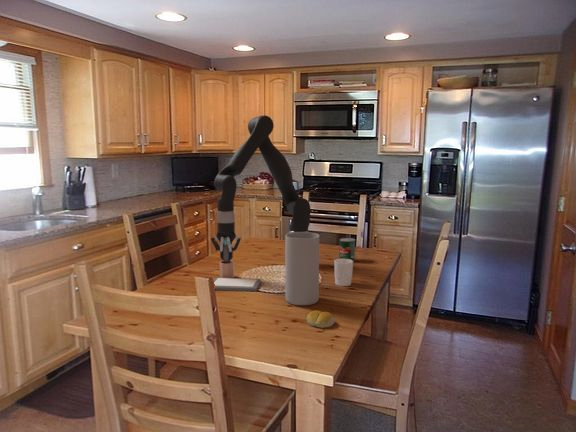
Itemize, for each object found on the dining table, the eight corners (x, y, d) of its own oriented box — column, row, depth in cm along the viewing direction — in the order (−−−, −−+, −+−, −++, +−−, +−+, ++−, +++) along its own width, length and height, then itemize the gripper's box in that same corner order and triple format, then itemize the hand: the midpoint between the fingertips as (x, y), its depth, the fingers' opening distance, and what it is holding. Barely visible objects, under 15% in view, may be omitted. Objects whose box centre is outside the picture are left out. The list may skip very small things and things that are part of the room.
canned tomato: (338, 262, 219) (339, 240, 217) (339, 258, 226) (340, 237, 225) (354, 262, 217) (355, 241, 216) (355, 259, 225) (355, 238, 223)
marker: (230, 265, 193) (230, 236, 191) (229, 267, 190) (229, 238, 188) (223, 265, 193) (223, 236, 191) (222, 267, 190) (222, 238, 188)
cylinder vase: (323, 297, 167) (324, 233, 163) (311, 308, 156) (311, 240, 152) (293, 293, 172) (293, 231, 168) (279, 303, 161) (279, 236, 157)
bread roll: (313, 316, 149) (313, 305, 148) (337, 322, 144) (337, 310, 143) (301, 324, 142) (301, 313, 141) (326, 330, 137) (326, 318, 136)
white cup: (354, 282, 186) (354, 259, 185) (350, 287, 179) (351, 264, 177) (336, 280, 189) (336, 257, 187) (331, 285, 181) (332, 262, 180)
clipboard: (261, 281, 187) (261, 278, 187) (256, 291, 174) (255, 287, 174) (215, 280, 189) (215, 277, 188) (207, 289, 176) (207, 286, 176)
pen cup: (235, 275, 195) (234, 260, 194) (232, 279, 189) (231, 264, 188) (222, 275, 196) (221, 260, 195) (218, 279, 190) (218, 263, 189)
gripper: (243, 219, 192) (243, 258, 194) (212, 219, 193) (213, 257, 196) (239, 222, 184) (240, 262, 187) (207, 222, 186) (208, 261, 188)
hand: (226, 259), depth 191 cm, fingers closed on marker, 2 cm apart
